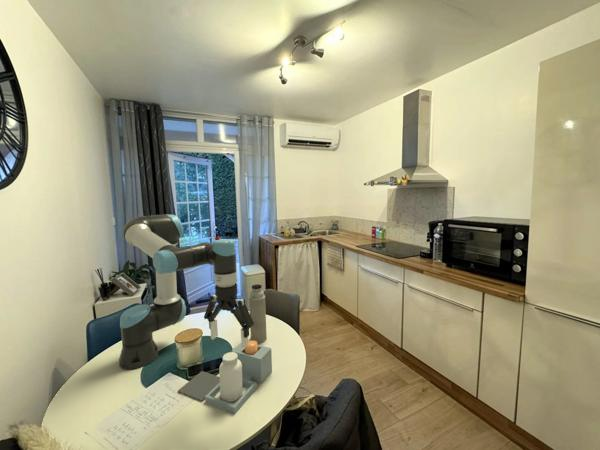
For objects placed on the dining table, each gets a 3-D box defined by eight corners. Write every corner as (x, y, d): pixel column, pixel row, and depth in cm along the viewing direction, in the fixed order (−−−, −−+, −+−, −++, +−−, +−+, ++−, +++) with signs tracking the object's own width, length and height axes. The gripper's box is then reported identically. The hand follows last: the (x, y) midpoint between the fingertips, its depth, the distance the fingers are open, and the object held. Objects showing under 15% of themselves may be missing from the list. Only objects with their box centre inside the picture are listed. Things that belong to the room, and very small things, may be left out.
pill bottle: (237, 404, 91) (235, 364, 90) (216, 401, 93) (214, 361, 91) (246, 388, 99) (244, 350, 97) (226, 385, 101) (224, 348, 99)
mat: (177, 392, 98) (177, 390, 98) (201, 372, 108) (201, 371, 108) (202, 401, 93) (201, 400, 93) (224, 380, 103) (224, 378, 103)
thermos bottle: (258, 333, 139) (256, 282, 136) (269, 337, 135) (268, 284, 132) (247, 340, 132) (245, 286, 129) (259, 344, 128) (257, 289, 125)
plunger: (243, 362, 106) (242, 345, 105) (250, 355, 110) (249, 339, 110) (253, 365, 104) (252, 348, 103) (260, 358, 108) (259, 342, 108)
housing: (204, 401, 93) (202, 375, 92) (244, 362, 114) (243, 341, 113) (236, 414, 87) (234, 386, 86) (272, 371, 108) (271, 348, 107)
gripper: (191, 283, 93) (195, 339, 95) (249, 292, 83) (252, 355, 85) (206, 277, 100) (210, 330, 102) (262, 284, 90) (264, 343, 92)
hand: (229, 341), depth 94 cm, fingers open, 13 cm apart
